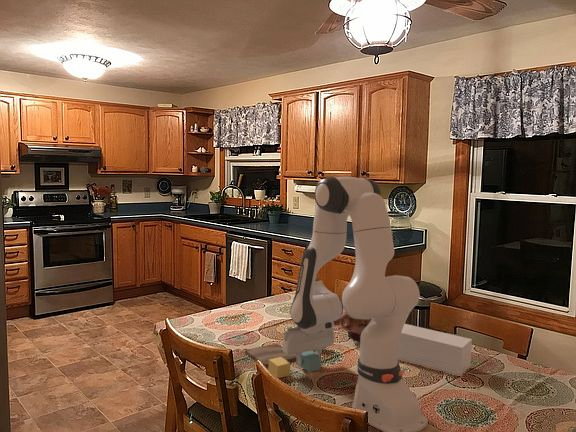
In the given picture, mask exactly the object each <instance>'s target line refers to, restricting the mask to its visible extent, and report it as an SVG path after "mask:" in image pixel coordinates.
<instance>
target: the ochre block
mask: <svg viewBox="0 0 576 432" xmlns="http://www.w3.org/2000/svg"><path fill="white" fill-rule="evenodd" d="M268 370H269V371H270V372H271V373H272V374H274V375H275V376H276V377H278V379H282V378H284V377H289V376H291V362H288V361H287V360H285V359H284V358H282V357H278V358H274V359H269V366H268V367H267V371H268ZM272 374H271V375H272ZM276 377H275V378H276Z"/></svg>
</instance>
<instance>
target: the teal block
mask: <svg viewBox="0 0 576 432" xmlns="http://www.w3.org/2000/svg"><path fill="white" fill-rule="evenodd" d="M301 358H302V359H304V364H301V365H300V364H298V358H297V357H296V361H295V364H296V366H299V367H300V368H302V369H304V371H307V372H308V373H311V372H315V371H319V370H321V369H322V356H321V355H317V354H315V352H314V351H313V350H311V351H307V352H303V353H302V355H301Z"/></svg>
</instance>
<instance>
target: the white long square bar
mask: <svg viewBox="0 0 576 432" xmlns="http://www.w3.org/2000/svg"><path fill="white" fill-rule="evenodd" d="M472 343H473V339H472V338H467V337H465V336H460V335H456V334H451V333H446V332H442V331H438V330H433V329H429V328H426V327H425V328H424V327H420V326H416V325H412V324H407V323H405V324H404V326H403V329H402V332H401V336H400V341H399V353H398V361H400V360H401V362H404V361H405V362H404V363H407V362H409V363H408V364H411V363H413V364H412V365H414V364H417V365H416V366H418V365H421V366H424V367H423V368H425V367H428V368H427V369H429V368H431V369H430V370H432V369H435V370H434V371H436V370H439V371H443V372H446V373H449V374H448V375H450V374H453V375H452V376H454V375H457V376H462V375H463V373H464V372H465V371H466V370H467V369H468V368H469V367H470V368H471V360H472V358H471V357H472ZM421 366H420V367H421ZM470 368H469V369H470ZM469 369H468V370H469ZM468 370H467V371H468ZM439 371H438V372H439ZM467 371H466V372H467ZM443 372H442V373H443ZM466 372H465V373H466ZM446 373H445V374H446ZM465 373H464V374H465ZM457 376H456V377H457ZM463 376H464V375H463ZM463 376H462V377H463Z"/></svg>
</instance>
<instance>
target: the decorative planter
mask: <svg viewBox="0 0 576 432" xmlns="http://www.w3.org/2000/svg"><path fill="white" fill-rule="evenodd" d="M339 320H340V321H339V324H340V326H341V327H342V329H343V330H345V331H346V332H347V335H348V337H349V338H350V339H352V340H355V341H359V342H360V337H361V333H362V331H363V330H364V329H365V328H366V327H367V326H368V324H369V323H370V321H371V319H354V318H352V317H350V316H349V315H348V314H347V313H346V312H345V313H342V316H341V317H340V319H339ZM344 323H345V325H344Z"/></svg>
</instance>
